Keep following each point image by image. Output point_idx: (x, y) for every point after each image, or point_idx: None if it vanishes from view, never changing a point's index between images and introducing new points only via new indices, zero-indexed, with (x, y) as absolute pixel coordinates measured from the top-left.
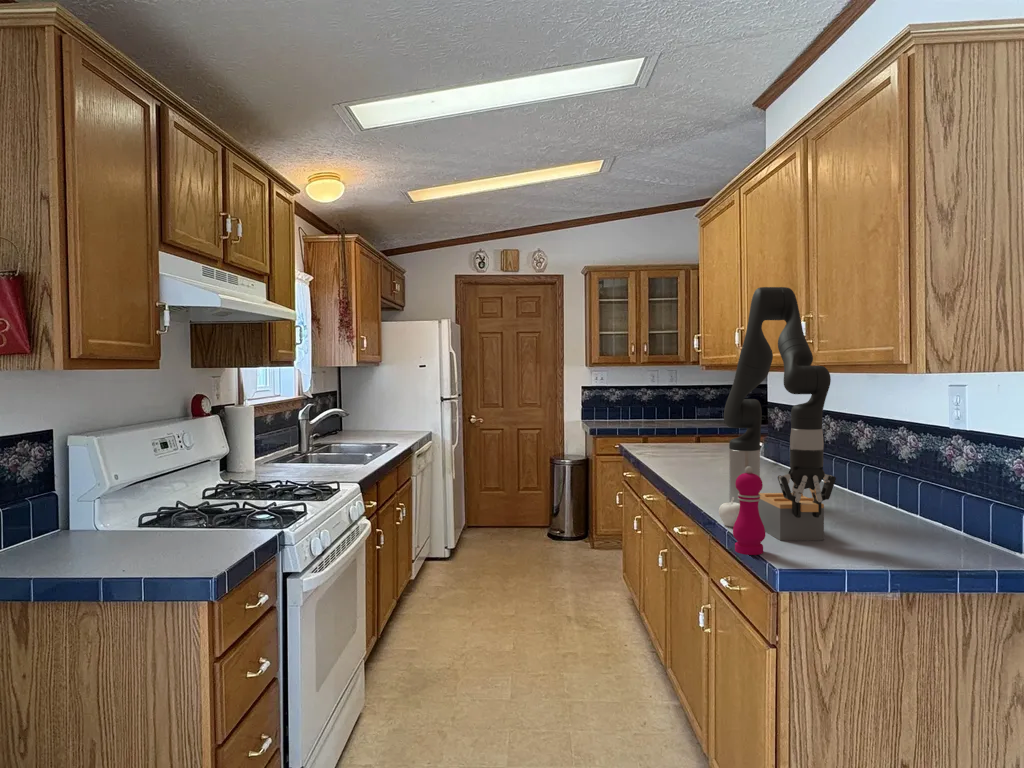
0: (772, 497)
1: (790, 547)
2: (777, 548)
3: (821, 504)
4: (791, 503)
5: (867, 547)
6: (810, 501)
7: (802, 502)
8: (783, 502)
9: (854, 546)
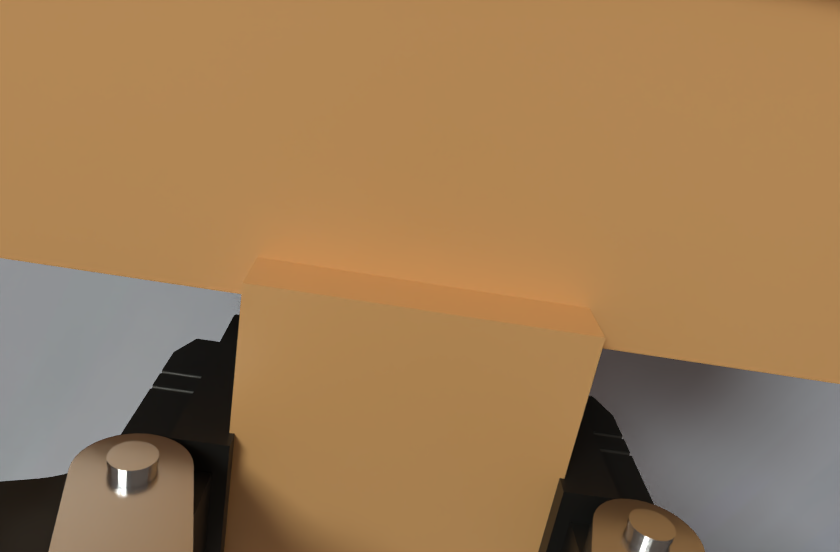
0: None
1: (159, 363)
2: (25, 369)
3: (796, 375)
4: (247, 203)
5: (807, 481)
6: (565, 423)
7: (337, 474)
8: (124, 52)
9: (732, 437)
